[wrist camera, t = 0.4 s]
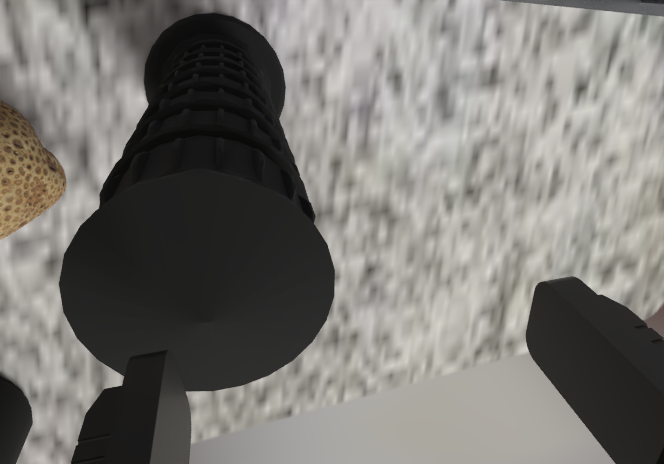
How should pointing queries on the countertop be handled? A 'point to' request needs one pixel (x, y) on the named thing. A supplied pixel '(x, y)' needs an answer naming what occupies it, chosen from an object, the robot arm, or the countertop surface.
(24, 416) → the coffee jar
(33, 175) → the tan round lump
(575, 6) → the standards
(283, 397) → the countertop surface
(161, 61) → the handle grip
